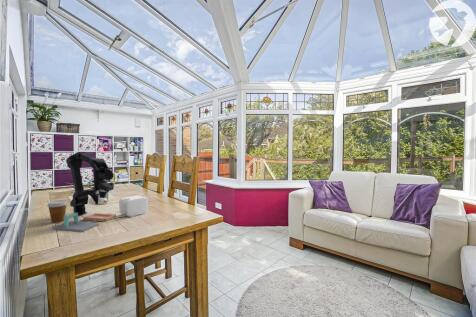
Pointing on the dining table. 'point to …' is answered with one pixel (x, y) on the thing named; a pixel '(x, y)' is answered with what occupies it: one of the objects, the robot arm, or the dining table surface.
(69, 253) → the dining table surface
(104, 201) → the white bottle
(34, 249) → the dining table surface
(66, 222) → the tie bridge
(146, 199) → the cable organizer
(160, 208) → the dining table surface
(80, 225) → the board
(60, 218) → the disposable coffee cup
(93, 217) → the tray
